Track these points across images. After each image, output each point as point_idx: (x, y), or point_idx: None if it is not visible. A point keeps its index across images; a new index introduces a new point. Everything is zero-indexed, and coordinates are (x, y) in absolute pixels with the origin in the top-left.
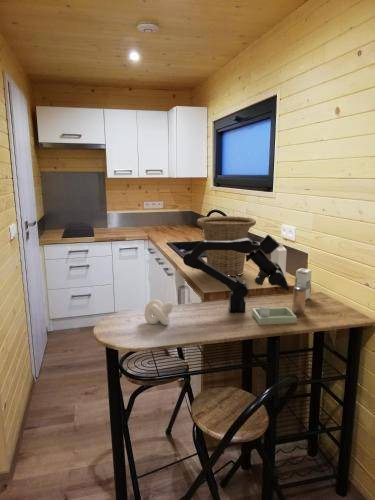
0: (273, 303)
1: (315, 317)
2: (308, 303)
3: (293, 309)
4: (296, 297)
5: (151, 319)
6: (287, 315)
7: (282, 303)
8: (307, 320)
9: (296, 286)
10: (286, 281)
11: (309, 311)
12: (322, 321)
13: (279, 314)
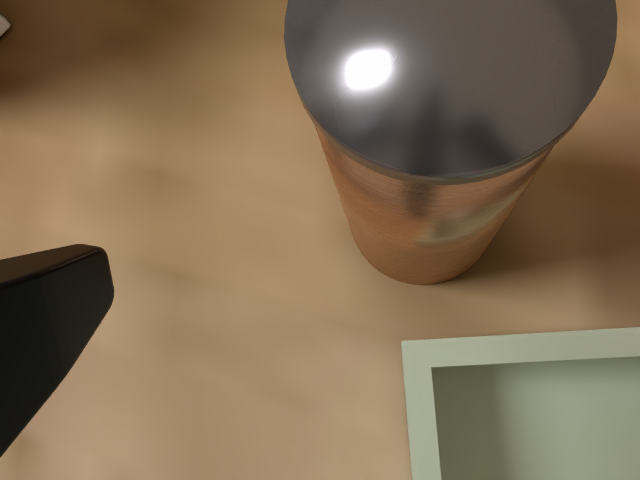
0: None
1: None
2: (93, 11)
3: (453, 267)
4: (523, 187)
5: None
6: (497, 366)
7: None
8: (605, 159)
9: (314, 66)
10: (77, 262)
11: None
12: (627, 11)
13: (460, 466)
